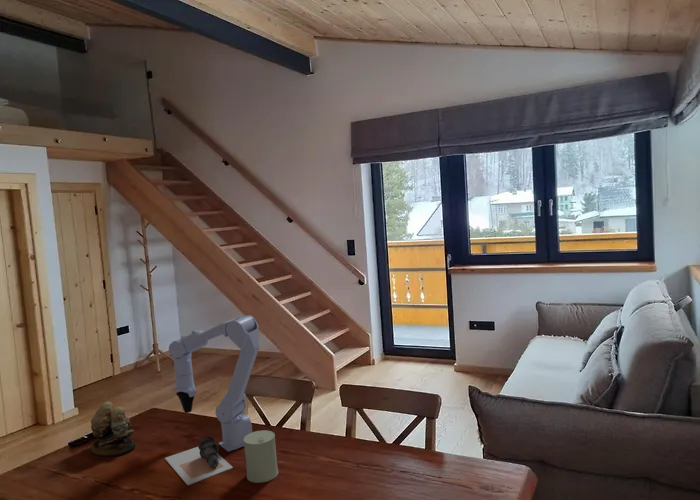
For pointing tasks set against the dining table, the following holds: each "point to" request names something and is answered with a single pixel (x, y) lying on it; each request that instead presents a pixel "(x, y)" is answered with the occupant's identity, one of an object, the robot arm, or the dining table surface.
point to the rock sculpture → (111, 431)
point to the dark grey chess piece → (209, 451)
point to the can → (260, 456)
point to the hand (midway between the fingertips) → (188, 411)
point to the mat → (195, 466)
